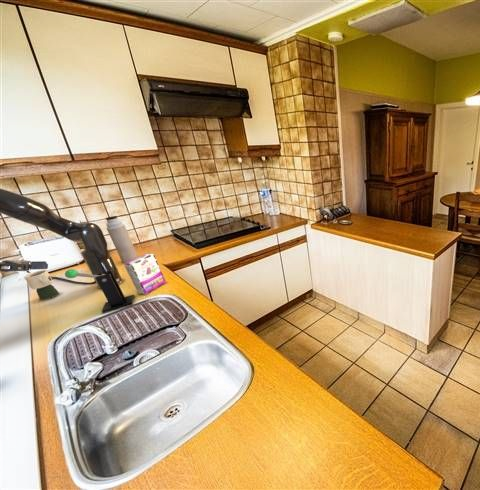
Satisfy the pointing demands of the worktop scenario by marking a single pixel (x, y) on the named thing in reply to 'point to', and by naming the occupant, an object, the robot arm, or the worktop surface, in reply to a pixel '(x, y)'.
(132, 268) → the candy bar box
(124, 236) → the thermos bottle
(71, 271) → the switch lever
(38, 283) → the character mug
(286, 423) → the worktop surface
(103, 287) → the switch bracket
